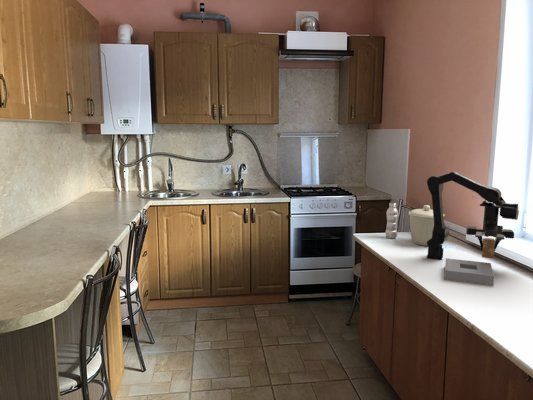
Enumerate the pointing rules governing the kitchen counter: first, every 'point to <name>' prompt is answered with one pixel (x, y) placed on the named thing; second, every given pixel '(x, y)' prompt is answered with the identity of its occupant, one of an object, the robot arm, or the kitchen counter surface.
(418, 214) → the canister
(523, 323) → the kitchen counter surface
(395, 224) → the plastic bottle
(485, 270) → the well block
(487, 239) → the walnut post
